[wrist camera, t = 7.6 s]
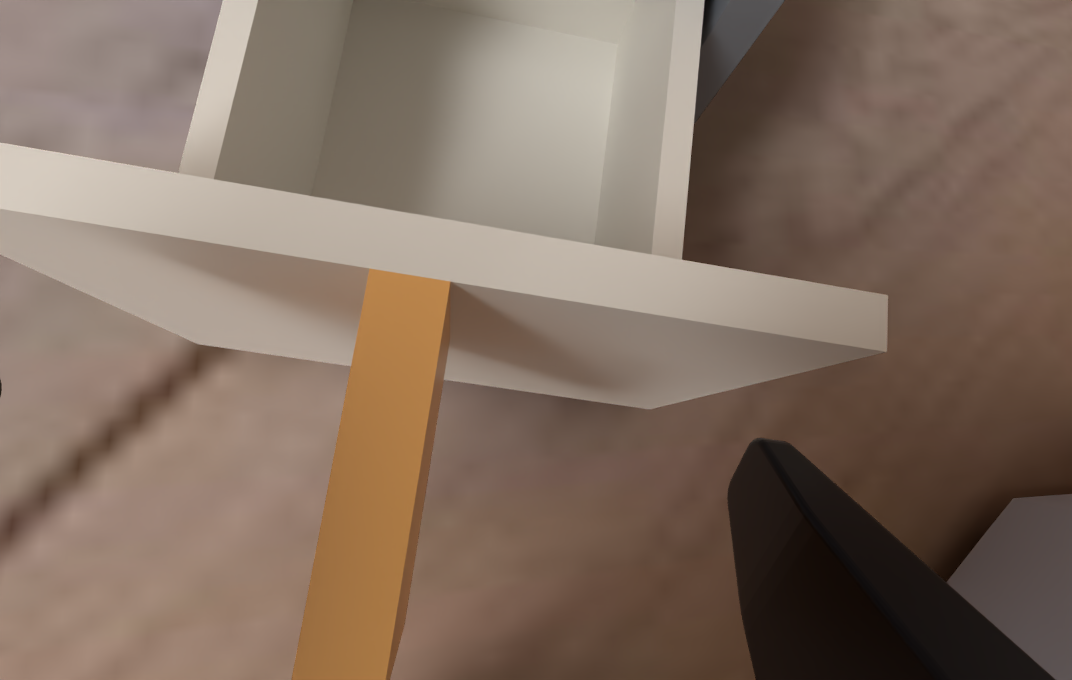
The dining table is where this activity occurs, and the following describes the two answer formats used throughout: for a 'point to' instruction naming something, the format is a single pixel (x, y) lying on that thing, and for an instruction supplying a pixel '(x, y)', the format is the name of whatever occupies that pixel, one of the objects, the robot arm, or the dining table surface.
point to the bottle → (1026, 579)
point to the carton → (727, 41)
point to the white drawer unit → (430, 243)
